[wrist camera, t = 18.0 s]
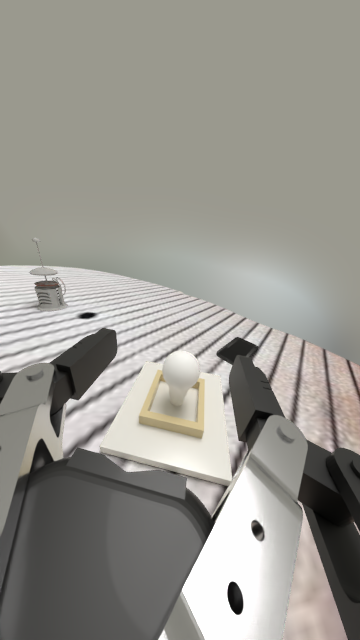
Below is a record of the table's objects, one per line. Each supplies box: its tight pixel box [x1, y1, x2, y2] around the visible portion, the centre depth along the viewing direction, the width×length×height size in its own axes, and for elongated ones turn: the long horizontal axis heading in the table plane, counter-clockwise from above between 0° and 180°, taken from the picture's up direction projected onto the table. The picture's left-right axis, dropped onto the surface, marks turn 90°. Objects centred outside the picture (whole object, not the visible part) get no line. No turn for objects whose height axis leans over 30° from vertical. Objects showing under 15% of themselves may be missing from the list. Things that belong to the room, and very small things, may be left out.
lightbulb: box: [162, 351, 200, 406], centre depth 26 cm, size 6×6×11 cm
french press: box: [29, 238, 68, 311], centre depth 57 cm, size 10×12×25 cm
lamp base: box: [100, 361, 232, 486], centre depth 28 cm, size 18×18×4 cm
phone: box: [217, 337, 258, 365], centre depth 48 cm, size 8×1×15 cm
